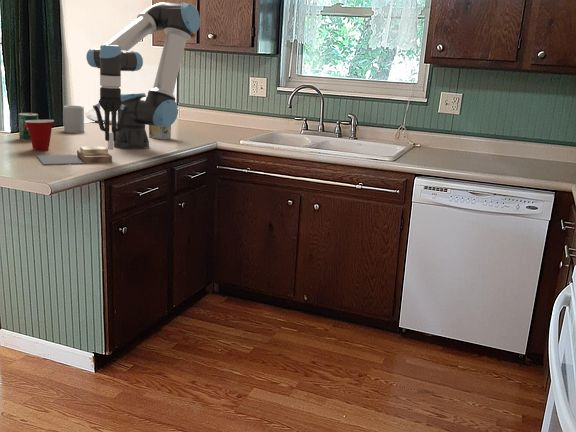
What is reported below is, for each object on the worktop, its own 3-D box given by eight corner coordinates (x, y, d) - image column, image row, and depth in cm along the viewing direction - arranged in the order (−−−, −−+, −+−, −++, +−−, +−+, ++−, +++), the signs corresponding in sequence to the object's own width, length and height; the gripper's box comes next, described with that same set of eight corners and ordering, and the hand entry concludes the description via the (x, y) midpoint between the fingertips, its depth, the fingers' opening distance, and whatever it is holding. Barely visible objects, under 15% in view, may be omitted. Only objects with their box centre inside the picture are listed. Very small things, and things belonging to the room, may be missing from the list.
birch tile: (104, 151, 235) (104, 146, 235) (108, 154, 230) (108, 149, 230) (80, 151, 231) (80, 146, 230) (83, 154, 226) (83, 149, 225)
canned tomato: (32, 141, 258) (31, 115, 255) (15, 139, 260) (14, 113, 257) (42, 139, 266) (41, 114, 263) (26, 137, 267) (25, 112, 264)
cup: (80, 133, 288) (79, 108, 285) (61, 132, 288) (60, 106, 285) (86, 130, 297) (86, 106, 294) (68, 129, 297) (67, 105, 294)
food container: (97, 113, 340) (94, 105, 336) (137, 123, 327) (135, 114, 323) (83, 123, 332) (79, 115, 329) (123, 134, 319) (120, 124, 316)
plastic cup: (42, 146, 250) (41, 117, 246) (60, 149, 245) (59, 120, 242) (19, 148, 240) (18, 118, 237) (38, 152, 236) (37, 122, 232)
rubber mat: (75, 156, 235) (75, 154, 235) (83, 164, 222) (83, 162, 222) (36, 156, 228) (36, 155, 228) (43, 165, 215) (43, 163, 215)
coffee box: (171, 138, 294) (172, 105, 289) (163, 139, 288) (163, 106, 284) (156, 136, 297) (157, 103, 293) (148, 137, 292) (148, 103, 288)
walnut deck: (103, 155, 239) (103, 149, 239) (112, 162, 228) (112, 156, 227) (77, 156, 234) (77, 150, 234) (84, 163, 223) (84, 156, 222)
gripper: (124, 86, 233) (124, 147, 239) (90, 85, 227) (91, 147, 233) (130, 88, 227) (130, 150, 233) (95, 87, 220) (95, 151, 227)
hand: (110, 149), depth 233 cm, fingers closed
